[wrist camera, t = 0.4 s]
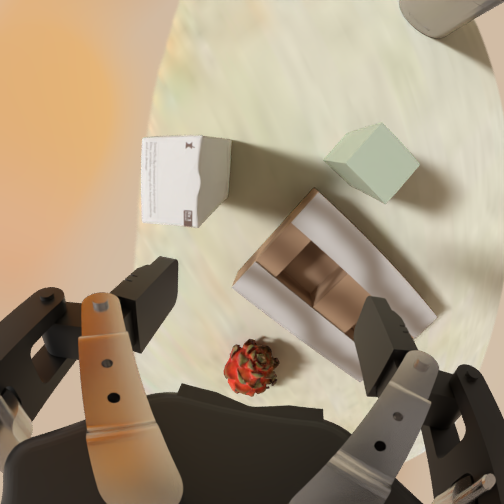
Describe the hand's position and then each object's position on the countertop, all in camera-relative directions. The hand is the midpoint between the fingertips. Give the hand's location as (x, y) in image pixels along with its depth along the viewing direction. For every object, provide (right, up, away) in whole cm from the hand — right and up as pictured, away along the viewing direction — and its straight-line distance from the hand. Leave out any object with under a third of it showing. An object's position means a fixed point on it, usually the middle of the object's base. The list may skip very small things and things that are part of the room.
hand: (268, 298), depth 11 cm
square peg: (+12, +14, +23) cm, 29 cm away
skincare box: (-6, +13, +25) cm, 29 cm away
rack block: (+12, -3, +29) cm, 31 cm away
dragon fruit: (0, -16, +35) cm, 39 cm away
